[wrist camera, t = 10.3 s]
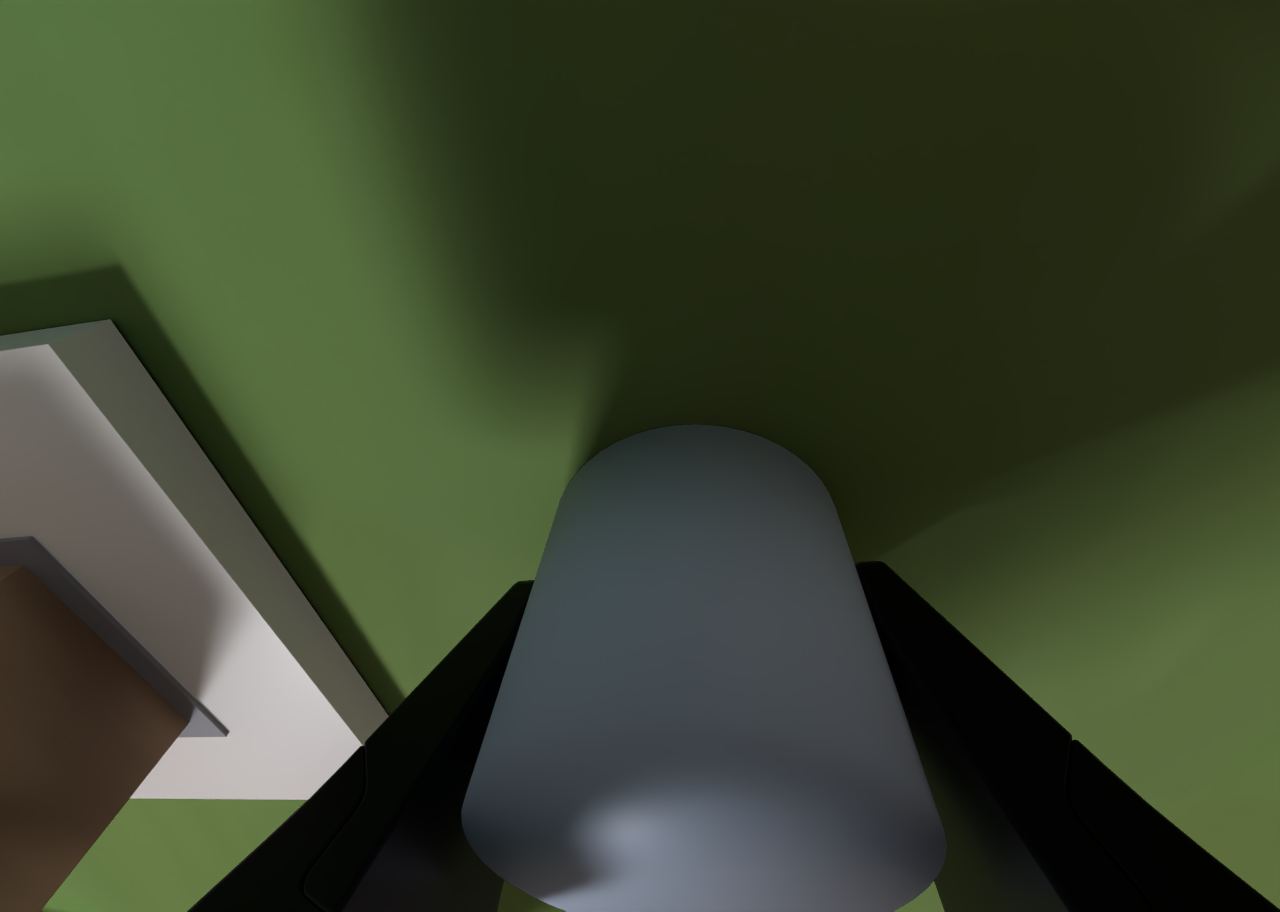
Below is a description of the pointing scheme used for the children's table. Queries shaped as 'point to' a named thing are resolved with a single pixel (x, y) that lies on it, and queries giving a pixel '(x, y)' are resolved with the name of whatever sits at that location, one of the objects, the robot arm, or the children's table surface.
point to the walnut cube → (64, 738)
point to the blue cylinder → (701, 700)
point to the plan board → (169, 572)
